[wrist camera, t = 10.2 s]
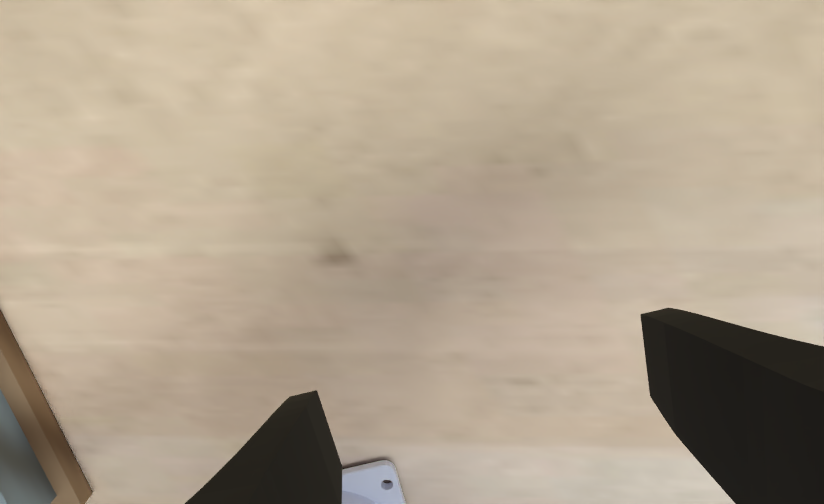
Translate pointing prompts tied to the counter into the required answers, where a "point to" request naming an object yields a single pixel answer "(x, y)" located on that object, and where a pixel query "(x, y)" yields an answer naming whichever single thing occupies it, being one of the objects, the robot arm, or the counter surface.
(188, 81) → the counter surface
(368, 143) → the counter surface
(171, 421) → the counter surface
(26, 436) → the tray
